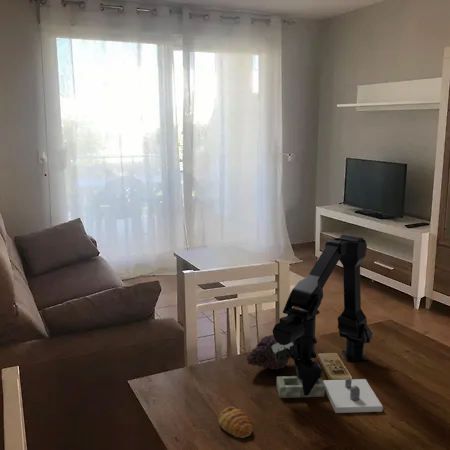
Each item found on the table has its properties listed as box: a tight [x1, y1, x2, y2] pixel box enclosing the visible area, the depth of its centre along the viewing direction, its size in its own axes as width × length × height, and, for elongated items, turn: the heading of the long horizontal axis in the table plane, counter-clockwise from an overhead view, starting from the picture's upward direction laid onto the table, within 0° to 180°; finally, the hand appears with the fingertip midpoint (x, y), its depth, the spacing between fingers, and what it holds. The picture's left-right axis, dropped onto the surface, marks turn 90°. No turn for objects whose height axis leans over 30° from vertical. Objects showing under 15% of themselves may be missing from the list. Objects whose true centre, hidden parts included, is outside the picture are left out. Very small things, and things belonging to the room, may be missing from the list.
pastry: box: [217, 406, 254, 439], centre depth 125 cm, size 9×7×4 cm
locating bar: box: [276, 375, 326, 399], centre depth 141 cm, size 12×6×3 cm, turn 93°
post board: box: [322, 377, 384, 414], centre depth 138 cm, size 14×12×5 cm
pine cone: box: [246, 334, 290, 370], centre depth 154 cm, size 18×10×10 cm, turn 120°
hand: (302, 386), depth 142 cm, fingers open, 9 cm apart
